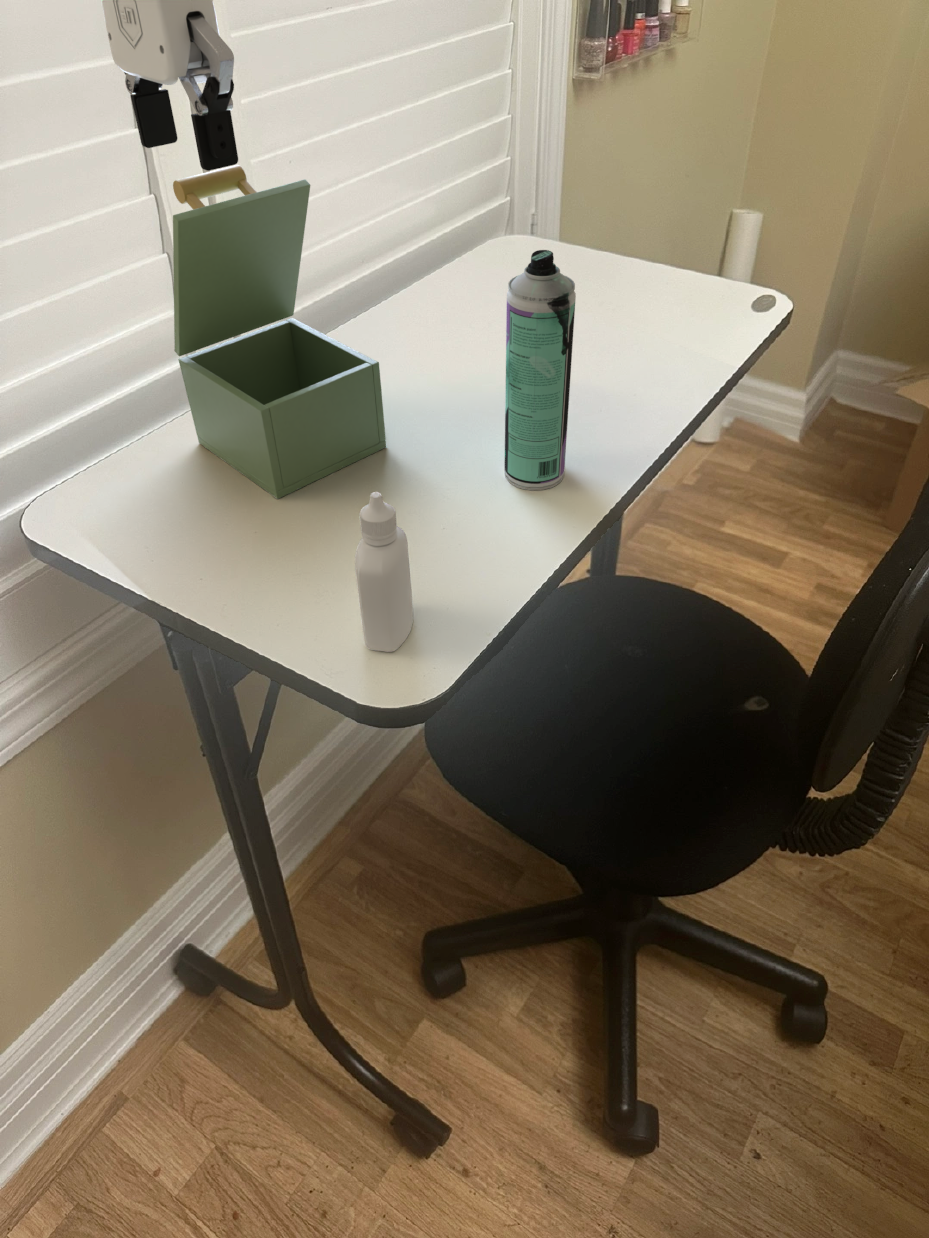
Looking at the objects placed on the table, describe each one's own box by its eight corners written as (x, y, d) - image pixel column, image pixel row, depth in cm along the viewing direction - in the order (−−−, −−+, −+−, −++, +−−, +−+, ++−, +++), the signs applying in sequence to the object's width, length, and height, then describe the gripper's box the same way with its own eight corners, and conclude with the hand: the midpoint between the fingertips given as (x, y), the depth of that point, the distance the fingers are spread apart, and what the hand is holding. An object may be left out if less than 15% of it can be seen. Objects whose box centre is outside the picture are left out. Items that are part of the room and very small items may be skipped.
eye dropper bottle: (341, 635, 67) (321, 501, 59) (394, 597, 70) (381, 465, 62) (384, 661, 65) (369, 526, 57) (436, 621, 68) (428, 487, 60)
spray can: (574, 468, 84) (590, 248, 70) (545, 497, 80) (556, 272, 67) (523, 452, 86) (529, 236, 73) (493, 479, 83) (493, 258, 69)
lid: (310, 184, 76) (268, 140, 78) (178, 221, 70) (135, 172, 71) (293, 315, 88) (257, 275, 90) (179, 357, 82) (142, 312, 84)
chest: (386, 447, 87) (379, 362, 81) (277, 499, 81) (260, 411, 75) (304, 398, 95) (291, 317, 89) (198, 443, 88) (177, 358, 82)
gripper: (36, -107, 67) (100, 145, 79) (149, -99, 58) (203, 186, 69) (129, -111, 71) (177, 129, 83) (249, -105, 62) (285, 167, 73)
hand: (189, 155), depth 76 cm, fingers open, 9 cm apart
